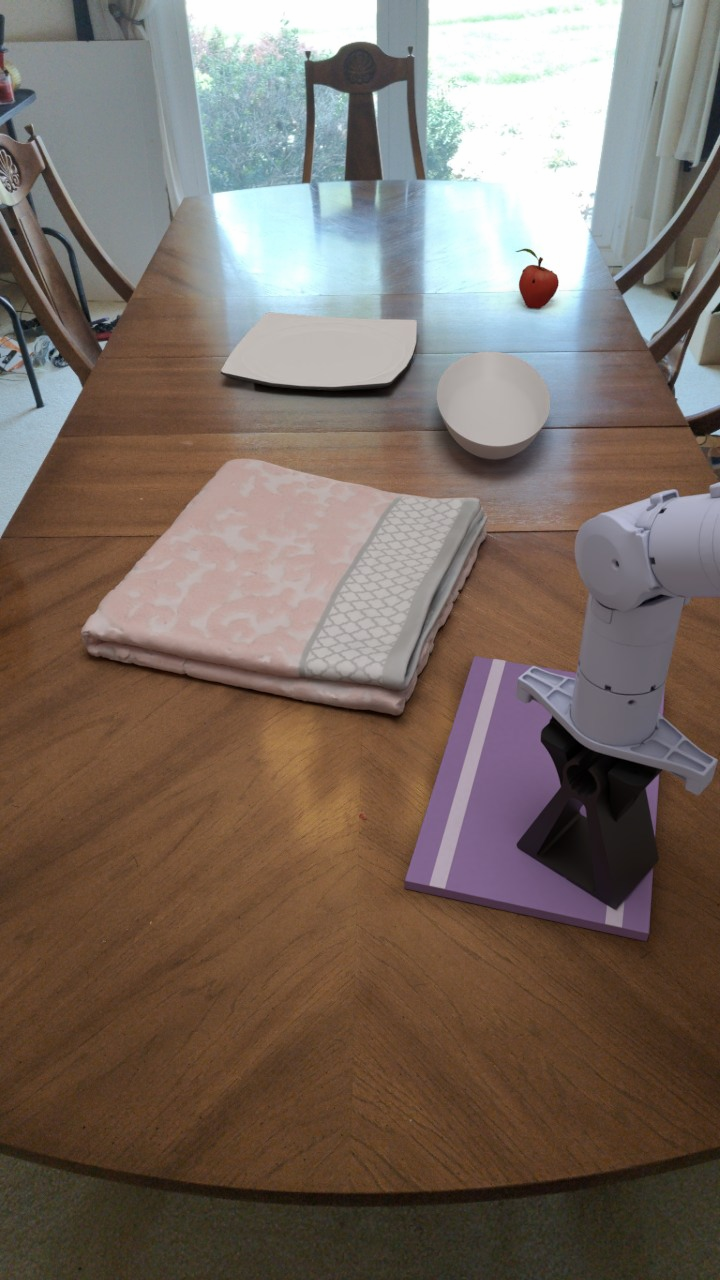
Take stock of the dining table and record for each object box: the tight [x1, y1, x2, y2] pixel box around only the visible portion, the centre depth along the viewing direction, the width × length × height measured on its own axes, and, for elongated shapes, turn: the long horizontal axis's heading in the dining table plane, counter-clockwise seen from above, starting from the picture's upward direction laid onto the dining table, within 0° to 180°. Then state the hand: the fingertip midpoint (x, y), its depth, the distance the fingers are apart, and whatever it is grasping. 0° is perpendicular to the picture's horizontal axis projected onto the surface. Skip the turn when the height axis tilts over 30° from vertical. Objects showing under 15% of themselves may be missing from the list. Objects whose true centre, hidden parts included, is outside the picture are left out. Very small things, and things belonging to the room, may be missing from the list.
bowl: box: [436, 350, 551, 460], centre depth 133 cm, size 30×15×6 cm, turn 176°
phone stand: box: [517, 746, 660, 909], centre depth 72 cm, size 9×6×12 cm, turn 47°
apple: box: [515, 248, 559, 310], centre depth 172 cm, size 8×7×10 cm
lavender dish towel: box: [404, 655, 666, 942], centre depth 83 cm, size 28×18×1 cm, turn 164°
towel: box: [80, 458, 489, 716], centre depth 105 cm, size 36×34×6 cm
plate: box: [220, 311, 418, 392], centre depth 156 cm, size 29×29×3 cm
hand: (595, 808), depth 73 cm, fingers closed on phone stand, 3 cm apart
